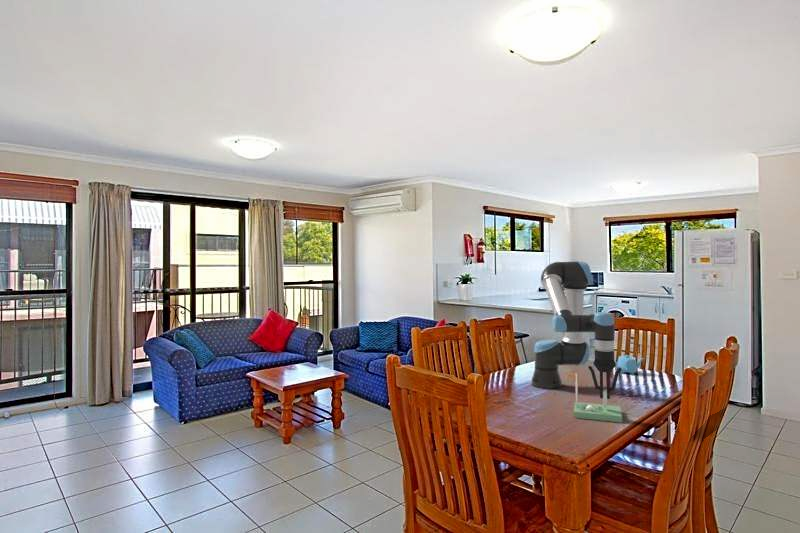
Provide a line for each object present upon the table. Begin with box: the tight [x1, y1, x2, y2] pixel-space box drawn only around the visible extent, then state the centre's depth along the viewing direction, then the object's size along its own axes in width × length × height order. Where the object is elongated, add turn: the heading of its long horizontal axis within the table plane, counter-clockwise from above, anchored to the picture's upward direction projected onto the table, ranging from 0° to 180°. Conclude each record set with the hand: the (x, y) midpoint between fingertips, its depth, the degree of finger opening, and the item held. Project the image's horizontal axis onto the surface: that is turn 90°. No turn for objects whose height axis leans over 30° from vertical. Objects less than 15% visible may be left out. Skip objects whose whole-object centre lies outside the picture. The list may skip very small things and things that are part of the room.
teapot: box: [614, 354, 645, 375], centre depth 268 cm, size 18×14×10 cm
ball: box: [586, 405, 595, 410], centre depth 195 cm, size 4×4×4 cm
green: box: [567, 372, 623, 423], centre depth 195 cm, size 21×14×16 cm
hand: (605, 406), depth 193 cm, fingers closed
